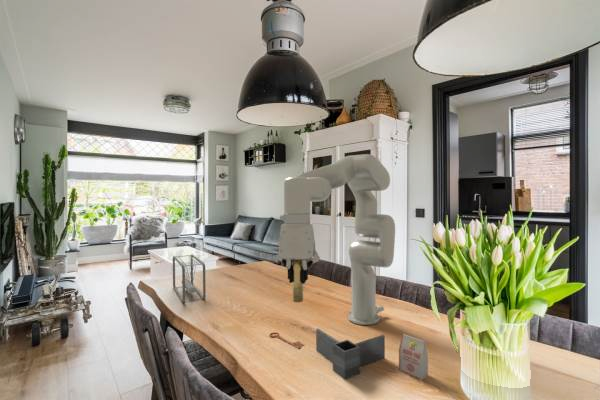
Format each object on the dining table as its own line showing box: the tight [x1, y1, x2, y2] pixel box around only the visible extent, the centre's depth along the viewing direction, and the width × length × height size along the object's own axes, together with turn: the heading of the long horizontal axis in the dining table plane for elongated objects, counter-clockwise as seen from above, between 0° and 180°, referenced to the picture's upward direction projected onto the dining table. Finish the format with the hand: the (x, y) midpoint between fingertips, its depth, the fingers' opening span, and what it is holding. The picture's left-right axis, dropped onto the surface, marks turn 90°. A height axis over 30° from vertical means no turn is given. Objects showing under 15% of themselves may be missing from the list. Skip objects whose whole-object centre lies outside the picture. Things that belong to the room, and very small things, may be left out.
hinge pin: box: [292, 259, 304, 303], centre depth 92 cm, size 4×4×14 cm
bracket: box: [315, 328, 386, 380], centre depth 98 cm, size 17×17×8 cm
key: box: [269, 332, 305, 350], centre depth 109 cm, size 6×1×15 cm
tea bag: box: [398, 333, 429, 381], centre depth 89 cm, size 4×7×10 cm, turn 42°
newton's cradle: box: [172, 253, 207, 304], centre depth 161 cm, size 30×10×18 cm, turn 30°
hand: (297, 281), depth 93 cm, fingers closed on hinge pin, 3 cm apart
